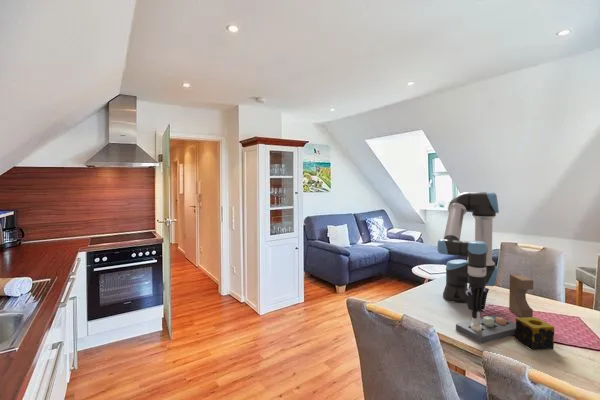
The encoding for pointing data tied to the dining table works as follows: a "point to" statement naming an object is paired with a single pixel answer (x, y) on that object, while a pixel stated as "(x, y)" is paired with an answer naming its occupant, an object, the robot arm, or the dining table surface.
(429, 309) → the dining table surface
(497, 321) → the terracotta button
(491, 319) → the sage button
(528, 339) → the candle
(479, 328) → the cream button
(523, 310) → the decorative block
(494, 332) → the panel
